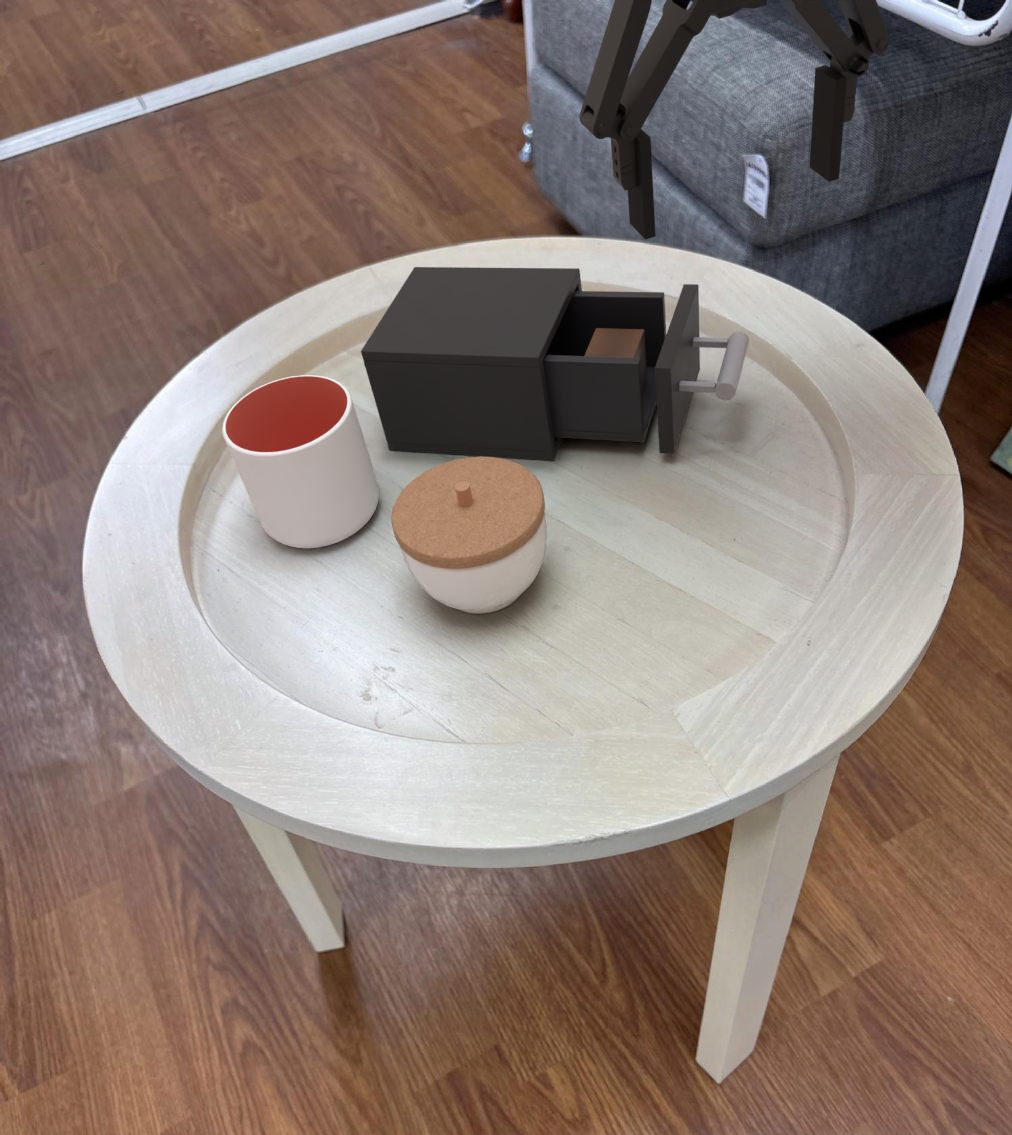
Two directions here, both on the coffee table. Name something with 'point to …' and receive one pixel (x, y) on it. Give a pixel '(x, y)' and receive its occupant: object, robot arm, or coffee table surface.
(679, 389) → the pull-out drawer
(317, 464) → the cup
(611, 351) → the block
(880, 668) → the coffee table surface
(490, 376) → the dark drawer box
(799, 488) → the coffee table surface
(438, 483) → the trinket box
